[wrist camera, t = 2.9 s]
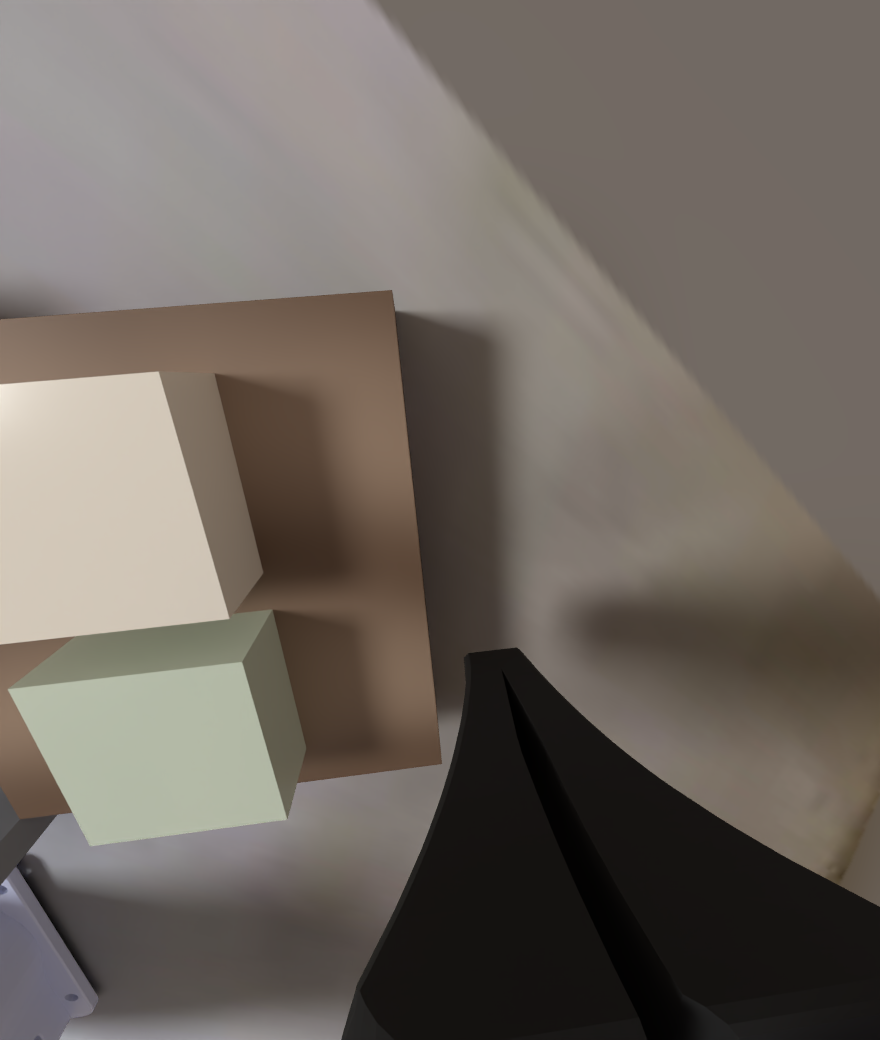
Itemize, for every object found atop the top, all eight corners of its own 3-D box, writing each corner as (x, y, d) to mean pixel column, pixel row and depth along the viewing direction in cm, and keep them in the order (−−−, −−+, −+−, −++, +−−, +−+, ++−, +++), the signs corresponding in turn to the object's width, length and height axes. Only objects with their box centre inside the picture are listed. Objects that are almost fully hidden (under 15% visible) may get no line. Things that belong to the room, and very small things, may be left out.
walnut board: (435, 701, 15) (442, 763, 12) (84, 745, 14) (19, 819, 12) (394, 310, 10) (391, 290, 8) (-104, 348, 10) (-264, 339, 8)
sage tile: (306, 748, 12) (287, 819, 10) (142, 769, 11) (90, 846, 10) (272, 609, 10) (242, 661, 8) (82, 630, 10) (7, 689, 8)
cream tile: (263, 572, 10) (229, 619, 8) (67, 593, 10) (-15, 646, 8) (214, 373, 8) (158, 371, 6) (-19, 392, 8) (-146, 395, 6)
